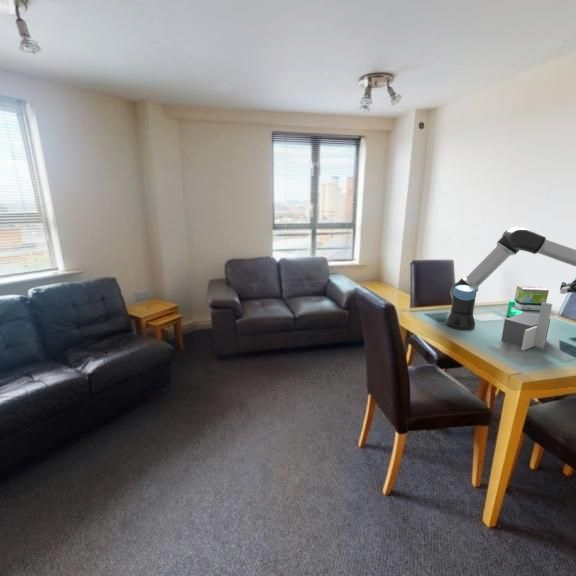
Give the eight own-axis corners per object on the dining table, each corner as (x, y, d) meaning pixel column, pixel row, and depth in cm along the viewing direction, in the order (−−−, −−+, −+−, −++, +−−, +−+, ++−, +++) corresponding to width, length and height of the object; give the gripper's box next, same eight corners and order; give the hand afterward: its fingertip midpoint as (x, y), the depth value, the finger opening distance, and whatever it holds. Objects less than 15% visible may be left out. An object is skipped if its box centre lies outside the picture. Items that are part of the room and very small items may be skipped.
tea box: (520, 310, 217) (524, 289, 213) (512, 305, 226) (516, 285, 223) (545, 311, 214) (549, 289, 210) (536, 306, 224) (540, 286, 220)
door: (532, 353, 150) (541, 307, 144) (521, 349, 154) (529, 304, 149) (543, 348, 155) (552, 304, 150) (532, 344, 159) (540, 301, 154)
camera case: (527, 348, 158) (531, 326, 155) (501, 340, 168) (504, 318, 165) (546, 340, 168) (550, 318, 165) (520, 332, 178) (524, 312, 175)
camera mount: (520, 320, 198) (523, 304, 196) (506, 317, 203) (508, 302, 200) (521, 314, 207) (524, 299, 205) (507, 312, 212) (510, 297, 209)
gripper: (597, 295, 163) (577, 301, 152) (565, 289, 174) (545, 295, 162) (600, 281, 161) (581, 286, 150) (568, 276, 172) (548, 280, 161)
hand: (562, 290), depth 156 cm, fingers closed
